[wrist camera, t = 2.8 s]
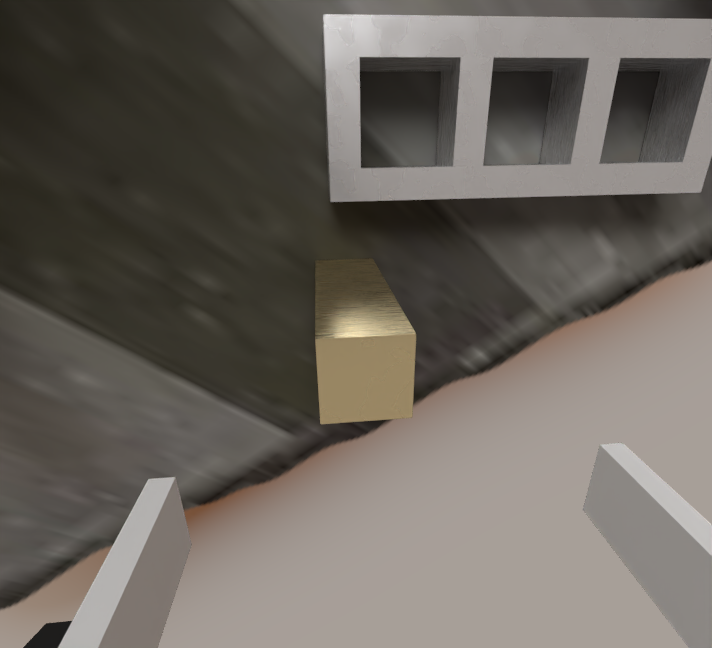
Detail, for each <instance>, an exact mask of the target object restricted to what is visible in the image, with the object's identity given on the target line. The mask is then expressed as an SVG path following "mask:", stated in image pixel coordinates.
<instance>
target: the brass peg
mask: <svg viewBox="0 0 712 648" xmlns="http://www.w3.org/2000/svg"><path fill="white" fill-rule="evenodd" d="M315 342H316V358H317V375H318V391H319V408H320V424H331V423H345V422H359V421H373V420H387V419H401V418H412V414H413V413H412V412H413V392H414V370H415V347H416V333H415V331H414V329H413V328H412V326H411V324H410V323H409V321H408V319H407V317H406V316H405V314H404V312H403V311H402V309H401V307H400V305H399V304H398V302H397V300H396V298H395V297H394V295H393V293H392V292H391V290H390V288H389V286H388V285H387V283H386V281H385V280H384V278H383V276H382V274H381V273H380V271H379V269H378V268H377V266H376V264H375V262H374V261H373V259H372V258H368V259H341V260H315Z"/></svg>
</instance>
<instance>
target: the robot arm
mask: <svg viewBox="0 0 712 648" xmlns="http://www.w3.org/2000/svg"><path fill="white" fill-rule="evenodd" d="M583 510H584V512H585V513H586V514H587V516H588V517H589V518H590V520H591V521H592V522H593V523H594V525H595V526H596V528H597V529H598V530H599V531H600V533H601V534H602V535H603V537H604V538H605V539H606V540H607V542H608V543H609V544H610V546H611V547H612V548H613V550H614V551H615V552H616V553H617V555H618V556H619V558H620V559H621V560H622V561H623V563H624V564H625V565H626V567H627V568H628V569H629V571H630V572H631V573H632V574H633V576H634V577H635V578H636V580H637V581H638V582H639V584H640V585H641V586H642V587H643V589H644V590H645V591H646V593H647V594H648V595H649V596H650V598H651V599H652V600H653V602H654V603H655V604H656V606H657V607H658V608H659V610H660V611H661V612H662V614H663V615H664V616H665V617H666V619H667V620H668V621H669V622H670V624H671V625H672V626H673V628H674V629H675V630H676V632H677V633H678V634H679V636H680V637H681V638H682V640H683V641H684V642H685V643H686V645H687V646H688V647H689V648H712V524H710V522H708V521H707V520H706V519H705V518H704V517H703V516H702V515H701V514H700V513H698V511H696V510H695V509H694V508H693V507H692V506H691V505H690V504H689V503H688V502H686V501H685V500H684V499H683V498H682V497H681V496H680V495H679V494H678V493H677V492H676V491H674V490H673V489H672V488H671V487H670V486H669V485H668V484H667V483H666V482H665V481H664V480H662V479H661V478H660V477H659V476H658V475H657V474H656V473H655V472H654V471H653V470H651V469H650V468H649V467H648V466H647V465H646V464H645V463H644V462H643V461H642V460H640V458H638V457H637V456H636V455H635V454H634V453H633V452H632V451H631V450H630V449H628V448H627V447H626V446H625V445H624V444H623V443H614V444H602V445H600V446H599V449H598V454H597V457H596V461H595V465H594V469H593V472H592V476H591V480H590V484H589V488H588V492H587V496H586V499H585V503H584V508H583ZM191 545H192V544H191V540H190V536H189V531H188V527H187V523H186V519H185V515H184V510H183V506H182V502H181V498H180V494H179V489H178V485H177V481H176V477H169V478H156V479H148V481H147V483H146V485H145V487H144V488H143V490H142V492H141V494H140V496H139V498H138V500H137V501H136V503H135V505H134V507H133V509H132V511H131V513H130V514H129V516H128V518H127V520H126V522H125V524H124V526H123V528H122V529H121V531H120V533H119V535H118V537H117V539H116V541H115V542H114V544H113V546H112V548H111V550H110V552H109V554H108V555H107V557H106V559H105V561H104V563H103V565H102V567H101V569H100V571H99V572H98V574H97V576H96V578H95V580H94V582H93V583H92V585H91V587H90V589H89V591H88V593H87V595H86V597H85V598H84V600H83V602H82V604H81V606H80V608H79V610H78V611H77V613H76V615H75V617H74V619H73V621H67V622H57V623H47V624H45V625H44V626H43V627H42V628H41V629H40V631H39V632H38V633H37V634H36V635H35V636H34V637H33V638H32V639H31V640H30V641H29V642H28V643H27V644H26V645H25V646H24V647H23V648H158V645H159V642H160V639H161V636H162V633H163V630H164V626H165V624H166V620H167V617H168V615H169V612H170V608H171V605H172V602H173V599H174V596H175V593H176V590H177V587H178V584H179V581H180V578H181V575H182V572H183V569H184V566H185V563H186V560H187V557H188V554H189V551H190V548H191Z"/></svg>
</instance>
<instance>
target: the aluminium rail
mask: <svg viewBox="0 0 712 648" xmlns="http://www.w3.org/2000/svg"><path fill="white" fill-rule="evenodd" d="M322 43H323V68H324V92H325V117H326V142H327V166H328V191H329V199H330V202H352V201H391V200H429V199H468V198H506V197H545V196H583V195H622V194H660V193H698V192H701V190H702V187H703V183H704V180H705V176H706V173H707V170H708V166H709V163H710V160H711V156H712V19H672V18H589V17H505V16H422V15H338V14H323V29H322ZM360 71H441V82H440V100H439V118H438V136H437V154H436V166H407V167H361V136H360ZM492 71H553V76H552V82H551V89H550V96H549V103H548V109H547V116H546V123H545V130H544V136H543V143H542V150H541V157H540V163H539V164H511V165H483V161H484V151H485V140H486V130H487V120H488V110H489V100H490V89H491V79H492ZM618 71H660V74H659V78H658V82H657V86H656V91H655V95H654V99H653V103H652V108H651V112H650V116H649V120H648V125H647V129H646V133H645V137H644V142H643V146H642V150H641V154H640V159H639V162H616V163H599V162H600V157H601V152H602V147H603V142H604V137H605V132H606V127H607V123H608V118H609V113H610V108H611V103H612V98H613V93H614V88H615V83H616V78H617V73H618Z"/></svg>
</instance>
